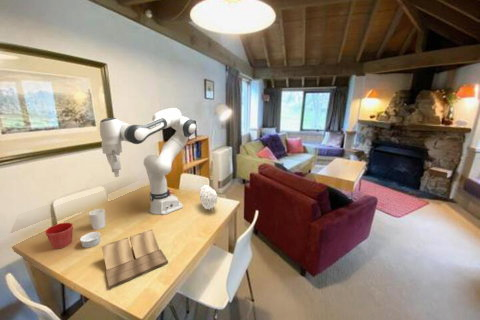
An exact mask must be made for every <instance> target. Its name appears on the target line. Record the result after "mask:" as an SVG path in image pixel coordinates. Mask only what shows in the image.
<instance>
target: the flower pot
mask: <svg viewBox="0 0 480 320" xmlns="http://www.w3.org/2000/svg"><path fill="white" fill-rule="evenodd" d="M73 228H74V224H73V223H71V222H62V223H57V224H55V225H52V226H50V227H48V228H47V229H46V230H45V232H44V234H45V235H46V237H47V239H48V241H49V242H50V245H51V246H52V248H53V249H55V250H59V249H63V248H65V247H68V246H69V245H71V243H72V242H73V231H74V229H73Z"/></svg>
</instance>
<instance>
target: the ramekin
mask: <svg viewBox="0 0 480 320" xmlns="http://www.w3.org/2000/svg"><path fill="white" fill-rule="evenodd" d="M79 241H80V242H81V243H80V244H81V245H82V247H83V248H85V249H87V248H88V249H89V248H92V247H95V246H97V245H98V244H99V243H100V242H101V233H100V232H99V231H92V232H91V231H90V232H87V233H86V234H84V235H82V236H81V237H80V238H79Z"/></svg>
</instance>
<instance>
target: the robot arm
mask: <svg viewBox="0 0 480 320" xmlns="http://www.w3.org/2000/svg"><path fill="white" fill-rule="evenodd" d="M167 128H171V129H173V130H175V132H174V134H173V135H172V136H171V137H169V139H168V140H167V141H166V142H165V143H164V144H163V145H162V147H161V152H160V153H159V155H157V154H156V155H155V154H151V155H150V154H148V155H147V156H146V157H144V159H143V166H144V168H145V170H146V174H147V177H148V181H149V189H150V191H149V197H150V198H149V199H150V207H149V212H150V214H152V215H162V216H164V215H168V214H170V213H173V212H176V211H178V210H180V209H183V207H184V206H183V203H182V202H181V201H180V200H179V198H178V197H177V196H175V195H174V194H173V191H172V190H170V189H168V181H167V177H166V175H169V174H170V172H171V171H172V169H173V168H172V167H173V166H172V164H173V162H174V160H175V159H176V157H177V155H178V154H179V153H180V152H181V151H182V150H183V149H184V147H185V146H186V145H187V142H188V141H189V137H191V136H192V135H194V134H195V132H196V130H197V123H196V122H195V121H194V120H193V119H190V118H189V117H186V116H182V113H181V111H180V110H179V109H178V108H176V107H170V108H166V109H162V110H160V111H156V112H155V113H154V114H153V115H152V121H150V122H147V123H145V124H130V123H126V122H125V121H121V120H119V119H118V118H116V117H105V118H102V119H101V120H100V122H99V135H100V138H101V150H102V154H104V155H105V156H106V159H107V162H108V164H109V165H110V168H111V172H112V173H114V177H115V178H118V177H120V174H119V173H120V172H119V171H120V170H121V169H122V164H121V158H120V156H121V154H120V153H123V147H122V142H123V141H124V142H128V143H131V144H134V145H139V144H142V143H144V142H145V141H146V139H148V138H149V137H150V136H152V135H154V134H156V133H158V132H161V131H162V130H164V129H167Z"/></svg>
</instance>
